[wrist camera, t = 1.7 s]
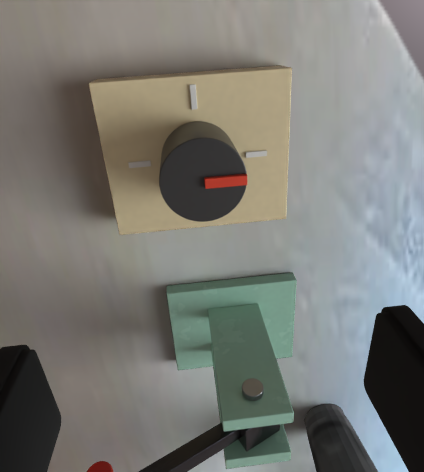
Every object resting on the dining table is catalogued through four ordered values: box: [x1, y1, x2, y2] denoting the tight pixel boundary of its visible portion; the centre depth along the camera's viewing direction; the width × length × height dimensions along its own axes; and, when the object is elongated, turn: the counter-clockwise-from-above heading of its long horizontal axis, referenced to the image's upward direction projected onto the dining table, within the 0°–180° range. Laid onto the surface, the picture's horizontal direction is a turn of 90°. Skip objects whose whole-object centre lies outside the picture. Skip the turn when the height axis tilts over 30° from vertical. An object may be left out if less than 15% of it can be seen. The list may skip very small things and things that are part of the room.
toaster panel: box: [89, 65, 292, 235], centre depth 25 cm, size 12×10×3 cm
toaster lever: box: [87, 423, 280, 472], centre depth 23 cm, size 12×6×2 cm, turn 93°
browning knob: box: [159, 121, 247, 222], centre depth 22 cm, size 5×5×5 cm
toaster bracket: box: [166, 273, 297, 469], centre depth 28 cm, size 11×9×12 cm
